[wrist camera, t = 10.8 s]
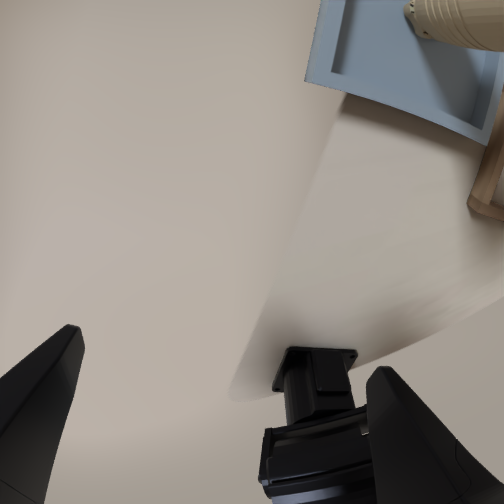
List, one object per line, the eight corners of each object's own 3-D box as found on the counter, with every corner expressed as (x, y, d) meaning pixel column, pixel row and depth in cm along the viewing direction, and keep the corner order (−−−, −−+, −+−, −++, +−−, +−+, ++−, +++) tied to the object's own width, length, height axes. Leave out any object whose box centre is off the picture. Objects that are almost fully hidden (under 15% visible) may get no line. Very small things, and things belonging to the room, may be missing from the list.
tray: (469, 137, 16) (486, 146, 15) (304, 81, 15) (311, 83, 14) (497, -18, 10) (515, -20, 8) (340, -97, 9) (349, -110, 7)
